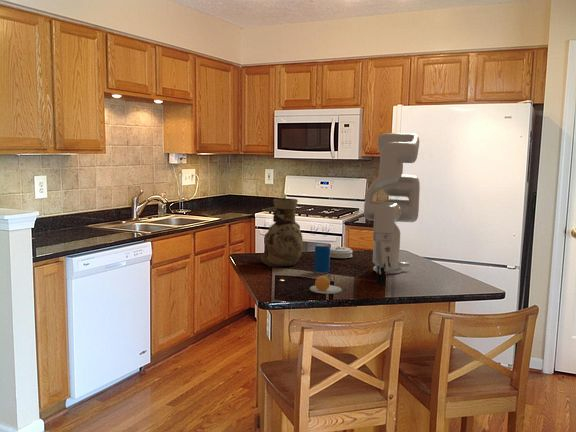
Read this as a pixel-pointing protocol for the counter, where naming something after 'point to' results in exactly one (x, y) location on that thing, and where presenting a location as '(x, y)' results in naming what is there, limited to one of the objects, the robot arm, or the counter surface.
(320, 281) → the ball
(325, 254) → the beverage can
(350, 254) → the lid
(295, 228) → the ceramic vessel
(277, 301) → the counter surface
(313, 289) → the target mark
